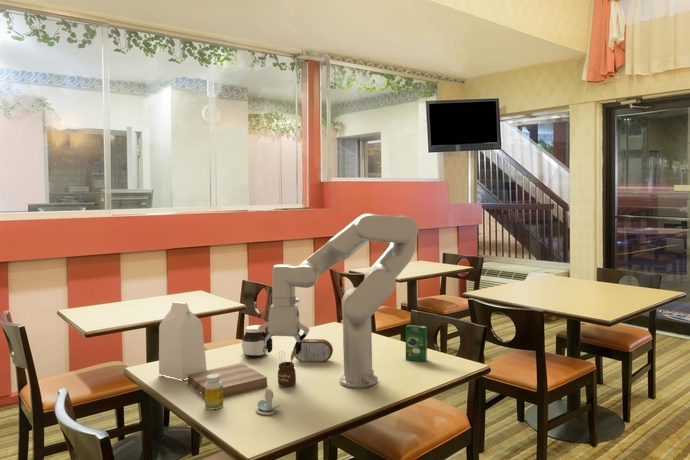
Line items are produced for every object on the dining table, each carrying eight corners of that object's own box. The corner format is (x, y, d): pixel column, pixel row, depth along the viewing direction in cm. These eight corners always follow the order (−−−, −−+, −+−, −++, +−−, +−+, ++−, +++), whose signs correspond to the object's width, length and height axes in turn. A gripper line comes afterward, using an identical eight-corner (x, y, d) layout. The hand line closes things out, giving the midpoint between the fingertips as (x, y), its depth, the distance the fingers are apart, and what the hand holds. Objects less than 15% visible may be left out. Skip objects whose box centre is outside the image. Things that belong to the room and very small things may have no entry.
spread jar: (256, 360, 208) (255, 330, 207) (232, 357, 212) (231, 328, 212) (273, 352, 218) (272, 323, 218) (250, 349, 223) (249, 321, 223)
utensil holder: (285, 380, 184) (283, 345, 183) (300, 383, 181) (299, 348, 180) (274, 385, 179) (273, 350, 178) (289, 388, 176) (288, 352, 175)
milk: (206, 371, 196) (203, 301, 194) (182, 381, 186) (179, 307, 185) (183, 367, 202) (180, 298, 201) (158, 376, 192) (155, 304, 191)
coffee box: (428, 359, 202) (427, 325, 202) (426, 362, 200) (425, 327, 199) (407, 357, 206) (406, 324, 205) (405, 360, 203) (404, 325, 202)
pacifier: (269, 418, 153) (283, 410, 158) (267, 397, 153) (282, 390, 158) (250, 413, 158) (265, 405, 162) (249, 392, 157) (264, 385, 162)
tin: (333, 360, 205) (332, 338, 205) (332, 362, 202) (331, 340, 202) (294, 360, 207) (293, 338, 206) (292, 362, 204) (292, 340, 203)
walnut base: (267, 386, 179) (266, 377, 179) (209, 400, 168) (208, 391, 168) (242, 370, 196) (241, 362, 195) (187, 383, 184) (187, 374, 184)
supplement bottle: (207, 403, 165) (205, 373, 164) (225, 403, 165) (223, 372, 165) (203, 410, 160) (202, 379, 159) (221, 409, 160) (220, 378, 159)
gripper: (311, 300, 181) (311, 350, 182) (262, 298, 183) (262, 347, 185) (306, 304, 173) (306, 357, 174) (254, 302, 176) (255, 354, 177)
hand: (283, 352), depth 179 cm, fingers open, 9 cm apart
